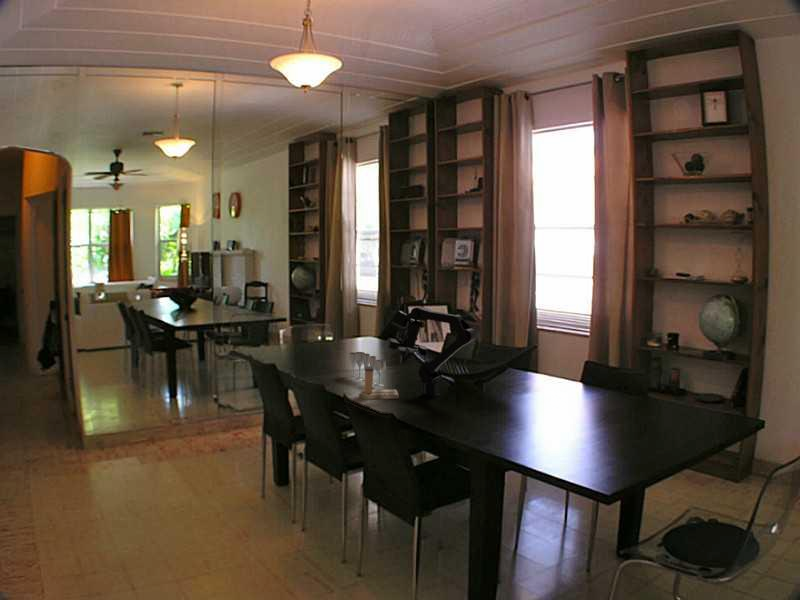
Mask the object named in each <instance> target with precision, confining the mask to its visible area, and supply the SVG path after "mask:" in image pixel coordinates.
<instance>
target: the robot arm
mask: <svg viewBox="0 0 800 600" xmlns="http://www.w3.org/2000/svg"><path fill="white" fill-rule="evenodd" d="M391 321H392V324H393V325H395V326H397V327H399V328H401V329H406V331H401V330H400V331H399V330H398V331H397V333H396V336H395V337H396V338H397V339H399V340H397V339H395V338H390V337H389V338H387V340H386V345H387V347H388V348H389V349H393V350H396V349H398V351H399V352H400V364H401V365H403V364H404V363H406V361H407V360H409V358H411V357H412V356H415V355H416V354H415V352H419V354H420V356H424V357H425V356H426V357H427V356H428V353H429V350H428V349H427V347H426V345H422V344H417V345H416V342H417V341H418V339H419V338H418V337H419V334H420V331H421V329H423V328H426V327H427V326H426V323H425V321H434V322H440V323H446V324H451V325H453V327H454V330H455V332H456V333H457V336H455V340H454V341H453V342H452V343H451V344H449V346H447V347H446V348H445V349H444V350H443V351H442V352H441V353H439V354H438V355H437V356H436V357H435V358H434V359H432V358H430V359H428V360H425V361H424V362H423V364H421V365H419V368H418V370H417V371H418V376H419V377H420V380H421V383H422V384H421V385H422V386H421V389H422V391H421V392H422V393H420V396H424V397H427V398H428V397H429V398H434V397H439V396H440V395H441V393H439V381H440V380H441V374H439V373H438V371H439V370H440V367H441V366H442V365H443V364H445V362H447V361H448V360H449V359H450V358H451V357H453V356H454V355H455V354H456V353H457V352H458V351H459V350H461V349H462V348H463V347H465V346H467V345H468V344H471V343H473V342H474V341H475V340H476V339H477V337H478V335H477V331H476V330H475V329H474V328H472V327H471V325H470V324H469V323H468V322H467V321H466V320H465V319H464V318H463V316H461V315H460V314H452V313H446V312H440V311H433V310H432V309H430V308H428V307H424V306H417V307H413V308H412V309H411V311H410V312H409V313H405V312H403V311H402V310H397V312H396V314H395V315H394V316H393V318H392V320H391ZM403 332H404V333H403ZM398 341H400V342H398Z"/></svg>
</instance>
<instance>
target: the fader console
mask: <svg viewBox="0 0 800 600" xmlns="http://www.w3.org/2000/svg"><path fill="white" fill-rule="evenodd" d="M360 394H361V399H363V400H369V399H370V400H372V399H373V400H376V399H377V400H378V399H382V400H383V399H385V400H386V399H388V400H389V399H400V398H399V397H400V396H399V393H398V390H397V389H372V393H365V389H360Z"/></svg>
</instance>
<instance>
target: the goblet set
mask: <svg viewBox="0 0 800 600" xmlns="http://www.w3.org/2000/svg"><path fill="white" fill-rule="evenodd" d="M348 360H349V362H350V364H351V366H352V374H351V375H348V377H349V378H354V379H355V380H359V379H360V380H361V381H362V382H365V377H361V367H362V366H363V367H364V366H372V367H373V371H372V385H374V386H375V387H384V386H385V384H384V383H381V375H382V373H383V372H384V371H385V369H386V368H387V364H386V361H385V359H378V358H377V356H376V355H370V353H365V352H363V351H357V352H349V354H348ZM356 365H357V367H358V375H355V374H354V372H355V366H356ZM374 371H376V372H377V374H378V383H377V382H376V381H374Z"/></svg>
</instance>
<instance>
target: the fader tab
mask: <svg viewBox="0 0 800 600" xmlns="http://www.w3.org/2000/svg"><path fill="white" fill-rule="evenodd" d="M363 368H364V369H363V370H364V380H365V381H364V390H365V393H372V390H373V384H372V371H373V367H372V366H370V365H368V366H364V365H363Z"/></svg>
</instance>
